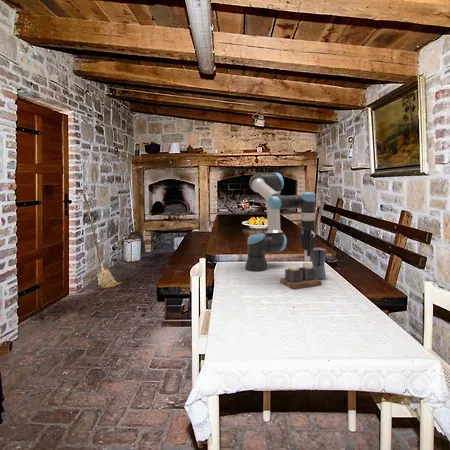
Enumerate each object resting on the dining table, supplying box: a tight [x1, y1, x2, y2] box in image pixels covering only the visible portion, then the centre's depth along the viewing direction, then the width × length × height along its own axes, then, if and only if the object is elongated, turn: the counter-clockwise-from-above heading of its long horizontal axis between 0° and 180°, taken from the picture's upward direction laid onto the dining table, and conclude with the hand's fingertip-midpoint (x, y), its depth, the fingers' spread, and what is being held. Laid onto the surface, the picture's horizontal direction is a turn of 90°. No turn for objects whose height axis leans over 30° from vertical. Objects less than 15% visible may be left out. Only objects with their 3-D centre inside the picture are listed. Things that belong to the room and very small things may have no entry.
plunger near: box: [288, 264, 300, 272], centre depth 190 cm, size 6×6×8 cm
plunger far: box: [302, 262, 313, 270], centre depth 193 cm, size 6×6×8 cm
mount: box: [280, 266, 323, 290], centre depth 192 cm, size 14×18×8 cm
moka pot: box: [310, 244, 327, 280], centre depth 204 cm, size 10×15×20 cm, turn 174°
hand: (307, 261), depth 193 cm, fingers closed
